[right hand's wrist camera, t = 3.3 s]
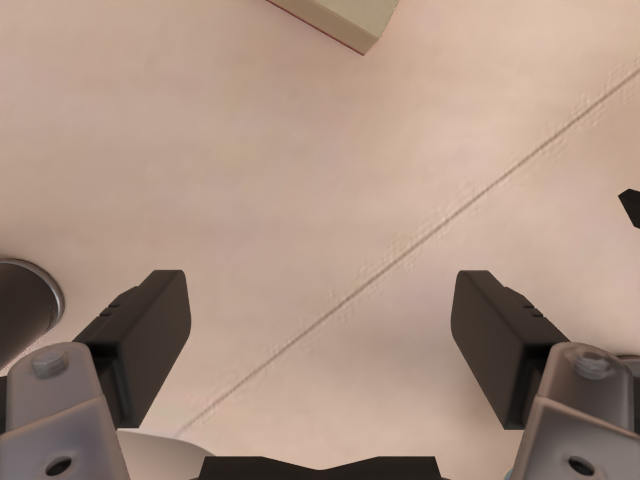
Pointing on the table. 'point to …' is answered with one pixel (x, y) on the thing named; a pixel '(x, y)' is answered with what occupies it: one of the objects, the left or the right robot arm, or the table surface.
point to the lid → (361, 13)
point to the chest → (327, 24)
